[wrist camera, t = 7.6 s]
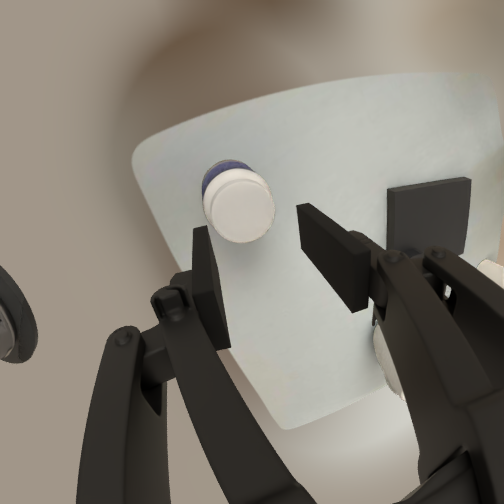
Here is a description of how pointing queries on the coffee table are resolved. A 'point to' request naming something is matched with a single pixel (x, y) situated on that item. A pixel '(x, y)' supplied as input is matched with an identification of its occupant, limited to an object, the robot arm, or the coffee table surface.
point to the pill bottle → (237, 201)
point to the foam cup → (492, 271)
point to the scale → (428, 216)
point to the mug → (386, 362)
